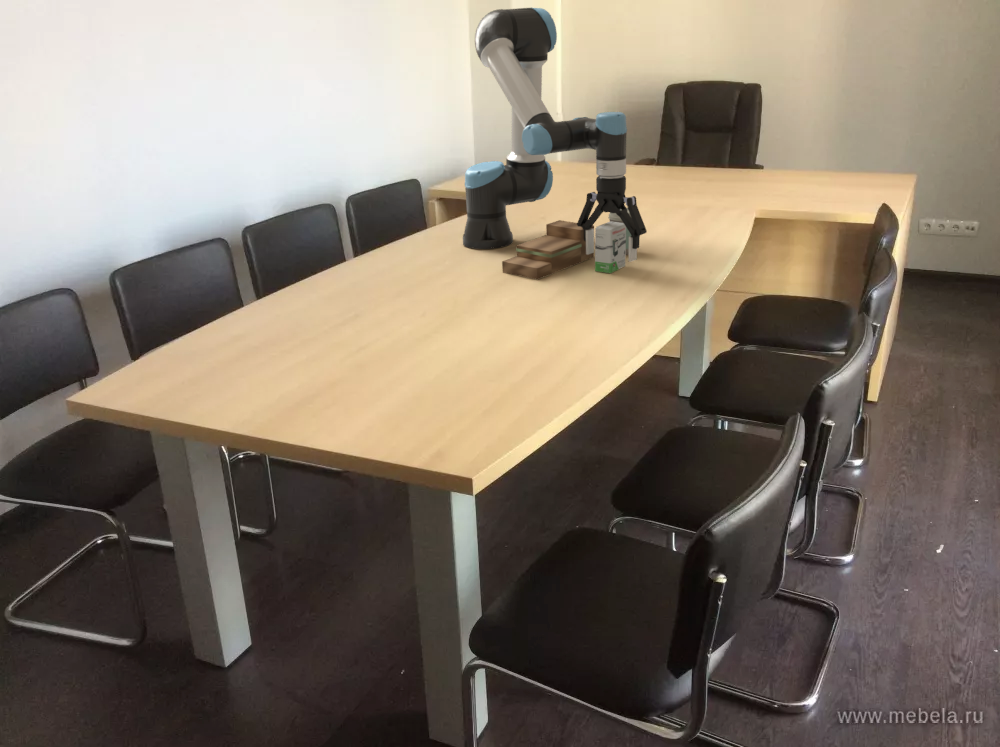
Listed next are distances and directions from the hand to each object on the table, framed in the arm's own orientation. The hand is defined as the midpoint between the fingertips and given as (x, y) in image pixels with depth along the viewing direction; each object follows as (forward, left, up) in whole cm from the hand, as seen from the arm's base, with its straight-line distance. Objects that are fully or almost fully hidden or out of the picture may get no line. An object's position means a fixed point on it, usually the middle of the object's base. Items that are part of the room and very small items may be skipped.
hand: (610, 257), depth 223 cm
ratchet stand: (-16, -6, -3) cm, 18 cm away
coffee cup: (-6, +15, -3) cm, 17 cm away
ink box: (0, 0, -3) cm, 3 cm away
